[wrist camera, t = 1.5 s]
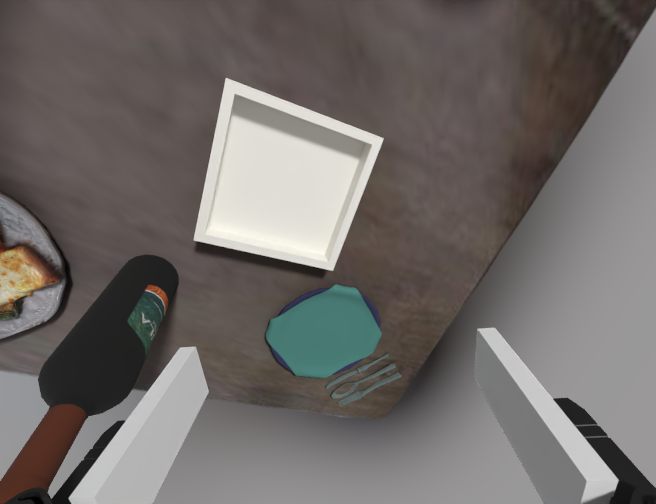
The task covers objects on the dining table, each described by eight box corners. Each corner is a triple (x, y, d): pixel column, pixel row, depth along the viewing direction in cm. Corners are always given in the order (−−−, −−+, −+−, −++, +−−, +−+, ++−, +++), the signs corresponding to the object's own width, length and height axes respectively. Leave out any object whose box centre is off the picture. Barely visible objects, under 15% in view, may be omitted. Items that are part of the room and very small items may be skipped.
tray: (197, 230, 44) (193, 240, 41) (228, 80, 38) (226, 77, 34) (328, 260, 51) (332, 270, 48) (374, 136, 44) (383, 138, 41)
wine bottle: (137, 245, 44) (-50, 466, 17) (188, 270, 47) (98, 492, 20) (111, 285, 45) (-94, 543, 19) (163, 307, 48) (49, 556, 22)
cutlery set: (351, 262, 52) (355, 268, 50) (407, 368, 66) (412, 376, 64) (247, 318, 53) (246, 327, 51) (325, 411, 67) (327, 420, 65)
